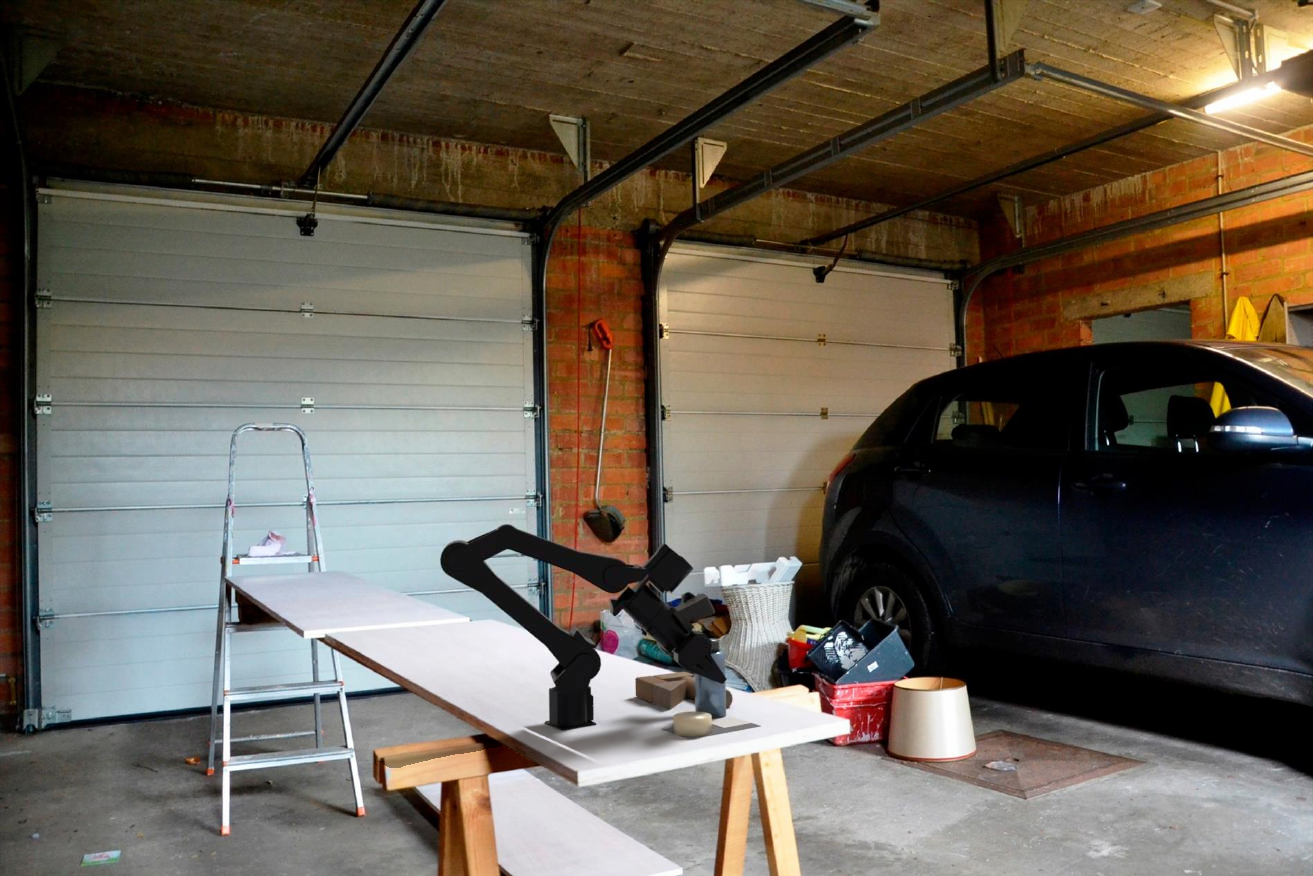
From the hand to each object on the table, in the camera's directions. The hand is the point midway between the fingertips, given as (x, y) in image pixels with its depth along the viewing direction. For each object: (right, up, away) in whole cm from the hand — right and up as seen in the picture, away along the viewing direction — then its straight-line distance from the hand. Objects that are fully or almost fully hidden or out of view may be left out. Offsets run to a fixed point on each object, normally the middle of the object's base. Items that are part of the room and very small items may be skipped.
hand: (717, 676), depth 170 cm
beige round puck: (-5, -6, -12) cm, 14 cm away
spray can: (-1, -7, -1) cm, 7 cm away
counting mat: (-2, -6, -9) cm, 11 cm away
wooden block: (-10, -6, +19) cm, 23 cm away
